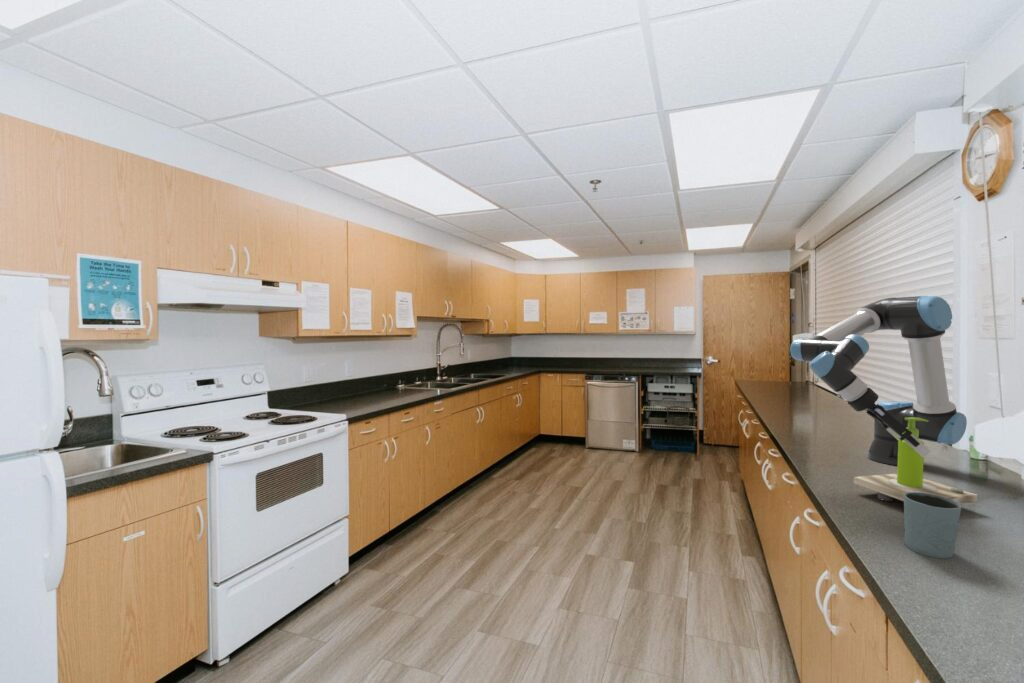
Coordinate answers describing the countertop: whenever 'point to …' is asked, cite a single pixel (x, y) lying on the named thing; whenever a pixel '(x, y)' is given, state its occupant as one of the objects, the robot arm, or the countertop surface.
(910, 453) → the soap dispenser
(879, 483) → the stand
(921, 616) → the countertop surface
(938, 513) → the blue-grey cup
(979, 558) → the countertop surface
